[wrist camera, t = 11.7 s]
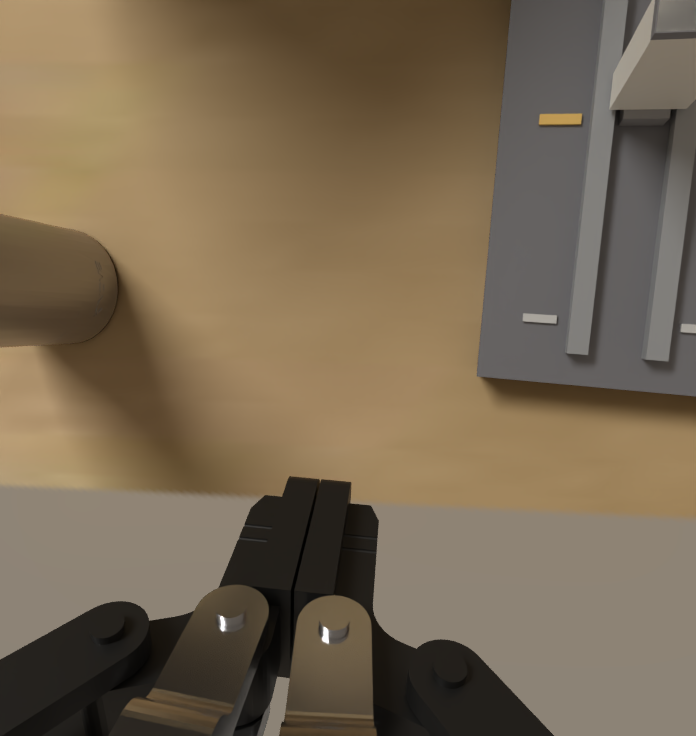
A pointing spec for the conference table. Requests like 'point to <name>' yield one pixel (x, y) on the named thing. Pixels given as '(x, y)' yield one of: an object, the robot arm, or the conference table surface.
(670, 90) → the fader
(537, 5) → the grey slider track board
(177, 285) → the conference table surface
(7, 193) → the conference table surface
